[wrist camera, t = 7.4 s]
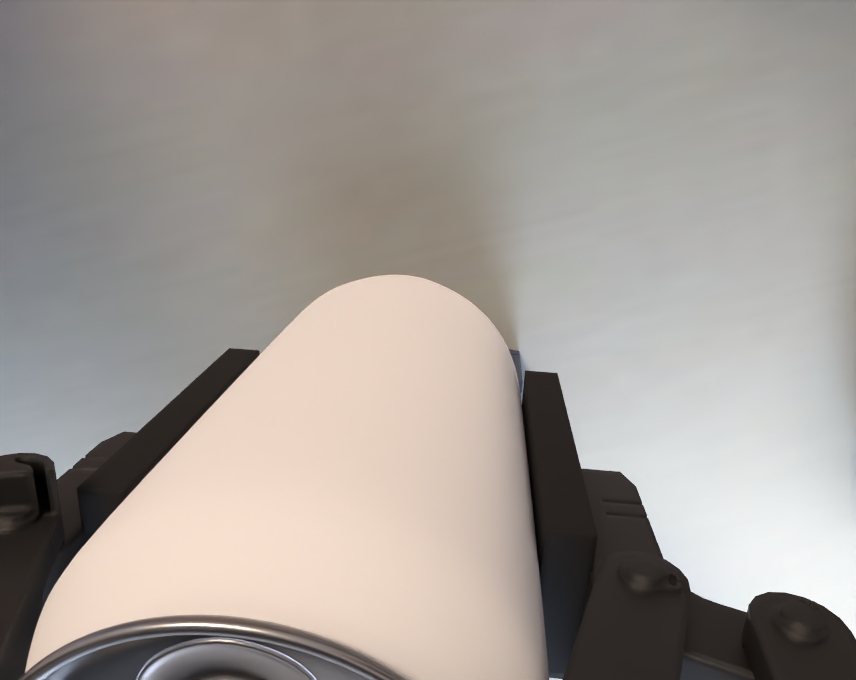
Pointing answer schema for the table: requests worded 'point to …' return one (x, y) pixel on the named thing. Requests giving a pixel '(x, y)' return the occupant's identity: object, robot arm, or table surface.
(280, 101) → the table surface
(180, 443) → the can
